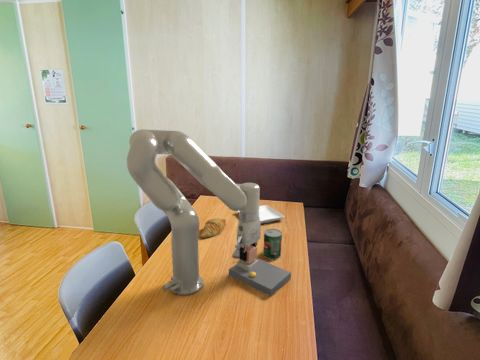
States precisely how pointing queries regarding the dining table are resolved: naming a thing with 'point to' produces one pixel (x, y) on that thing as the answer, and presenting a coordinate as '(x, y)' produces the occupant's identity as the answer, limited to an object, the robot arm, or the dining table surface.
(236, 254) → the smartphone
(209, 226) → the croissant
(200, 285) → the robot arm
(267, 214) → the salad plate
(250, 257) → the block
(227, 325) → the dining table surface
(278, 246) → the canned tomato
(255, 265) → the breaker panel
